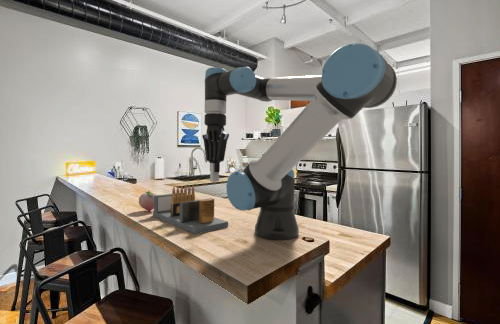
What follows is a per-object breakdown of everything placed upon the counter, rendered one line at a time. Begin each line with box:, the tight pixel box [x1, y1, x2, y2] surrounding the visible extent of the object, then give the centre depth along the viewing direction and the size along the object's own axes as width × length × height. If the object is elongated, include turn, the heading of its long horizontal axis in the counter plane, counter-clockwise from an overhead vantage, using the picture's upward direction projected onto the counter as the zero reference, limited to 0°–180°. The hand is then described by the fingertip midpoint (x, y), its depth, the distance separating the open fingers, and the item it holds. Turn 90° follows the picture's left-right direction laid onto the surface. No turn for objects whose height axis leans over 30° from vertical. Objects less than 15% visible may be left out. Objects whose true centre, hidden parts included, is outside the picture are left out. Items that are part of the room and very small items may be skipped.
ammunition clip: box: [171, 184, 196, 217], centre depth 108 cm, size 11×2×12 cm, turn 133°
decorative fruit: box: [138, 191, 157, 212], centre depth 122 cm, size 9×8×10 cm
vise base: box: [152, 192, 229, 235], centre depth 106 cm, size 35×14×9 cm, turn 43°
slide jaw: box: [180, 198, 215, 223], centre depth 98 cm, size 8×14×8 cm, turn 133°
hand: (214, 181), depth 92 cm, fingers closed
